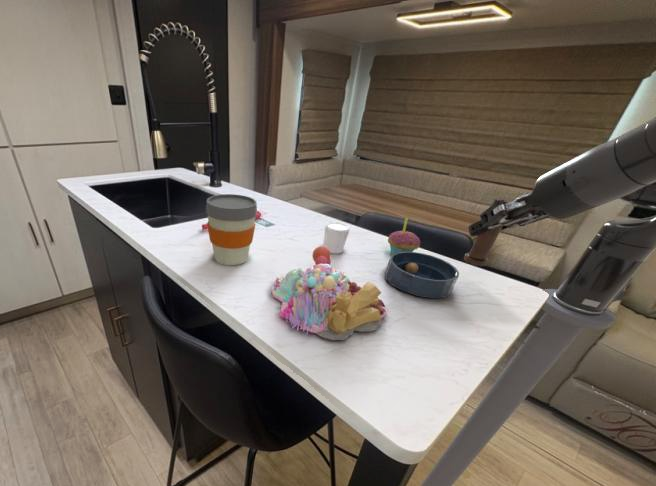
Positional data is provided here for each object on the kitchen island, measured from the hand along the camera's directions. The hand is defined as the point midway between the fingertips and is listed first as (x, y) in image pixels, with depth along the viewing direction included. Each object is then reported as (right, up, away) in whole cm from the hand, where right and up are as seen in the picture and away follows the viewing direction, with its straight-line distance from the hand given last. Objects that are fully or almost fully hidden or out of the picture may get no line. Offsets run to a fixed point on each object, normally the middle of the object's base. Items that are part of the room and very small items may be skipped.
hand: (478, 231), depth 59 cm
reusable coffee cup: (-50, -2, +23) cm, 55 cm away
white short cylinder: (-20, +2, +32) cm, 38 cm away
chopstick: (-49, +15, +40) cm, 66 cm away
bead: (-3, -5, +19) cm, 20 cm away
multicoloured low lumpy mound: (-28, -14, +7) cm, 33 cm away
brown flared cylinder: (0, -6, +1) cm, 6 cm away
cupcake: (-1, 0, +31) cm, 31 cm away
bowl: (-3, -9, +17) cm, 20 cm away
